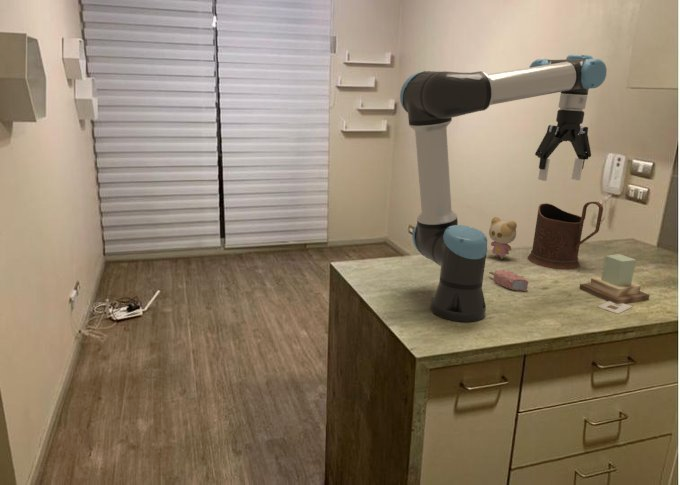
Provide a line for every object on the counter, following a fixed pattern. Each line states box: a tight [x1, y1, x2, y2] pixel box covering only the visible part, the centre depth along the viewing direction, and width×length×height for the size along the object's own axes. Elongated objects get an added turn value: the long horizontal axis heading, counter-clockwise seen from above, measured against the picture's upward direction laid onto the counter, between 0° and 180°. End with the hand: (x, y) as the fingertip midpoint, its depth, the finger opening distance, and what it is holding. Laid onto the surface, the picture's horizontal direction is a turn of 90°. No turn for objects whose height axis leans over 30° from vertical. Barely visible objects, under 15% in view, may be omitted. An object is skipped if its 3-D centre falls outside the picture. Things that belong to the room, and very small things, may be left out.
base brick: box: [579, 276, 650, 304], centre depth 170 cm, size 14×14×4 cm
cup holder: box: [526, 201, 604, 271], centre depth 195 cm, size 18×24×25 cm
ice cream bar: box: [488, 269, 529, 292], centre depth 174 cm, size 6×4×15 cm
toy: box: [488, 216, 518, 260], centre depth 199 cm, size 10×8×15 cm
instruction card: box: [597, 301, 633, 315], centre depth 160 cm, size 9×6×1 cm, turn 129°
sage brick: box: [601, 253, 637, 286], centre depth 168 cm, size 6×6×8 cm
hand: (559, 180), depth 168 cm, fingers open, 13 cm apart
